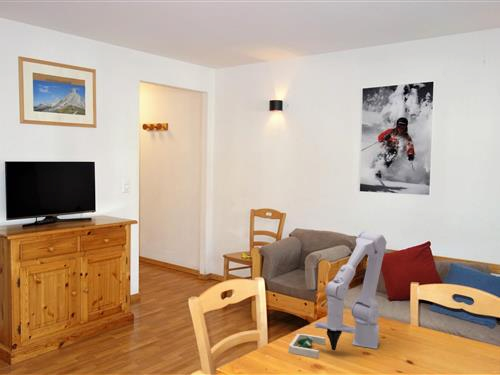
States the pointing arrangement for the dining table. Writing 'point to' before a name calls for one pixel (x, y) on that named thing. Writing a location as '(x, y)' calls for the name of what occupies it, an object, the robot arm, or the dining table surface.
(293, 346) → the controller dock
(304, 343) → the gaming controller
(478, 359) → the dining table surface
